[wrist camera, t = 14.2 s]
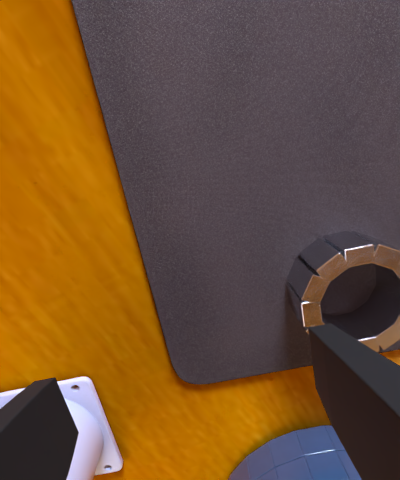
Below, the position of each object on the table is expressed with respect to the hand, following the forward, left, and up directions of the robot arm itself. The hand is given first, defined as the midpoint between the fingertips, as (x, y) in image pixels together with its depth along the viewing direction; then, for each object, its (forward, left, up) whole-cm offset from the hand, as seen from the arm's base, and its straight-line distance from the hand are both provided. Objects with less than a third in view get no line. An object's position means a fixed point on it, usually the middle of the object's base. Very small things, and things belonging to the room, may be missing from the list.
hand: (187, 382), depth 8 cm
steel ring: (+8, -3, -9) cm, 13 cm away
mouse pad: (+8, +4, -9) cm, 13 cm away
